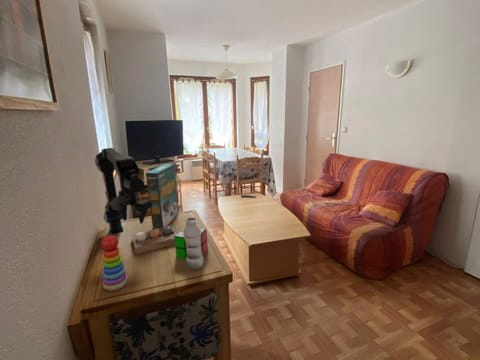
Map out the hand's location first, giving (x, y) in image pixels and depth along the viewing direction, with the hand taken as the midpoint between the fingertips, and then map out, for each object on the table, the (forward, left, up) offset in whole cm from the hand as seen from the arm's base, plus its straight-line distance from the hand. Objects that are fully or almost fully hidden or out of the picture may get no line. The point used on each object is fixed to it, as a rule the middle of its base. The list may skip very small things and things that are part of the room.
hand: (133, 221), depth 110 cm
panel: (-3, +9, -13) cm, 16 cm away
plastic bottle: (+26, +19, -13) cm, 35 cm away
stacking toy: (+22, -9, -13) cm, 28 cm away
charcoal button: (-3, +15, -11) cm, 18 cm away
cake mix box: (-26, +19, -13) cm, 34 cm away
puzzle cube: (+16, +21, -14) cm, 29 cm away
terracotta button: (-3, +9, -11) cm, 14 cm away
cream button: (-3, +3, -11) cm, 12 cm away
